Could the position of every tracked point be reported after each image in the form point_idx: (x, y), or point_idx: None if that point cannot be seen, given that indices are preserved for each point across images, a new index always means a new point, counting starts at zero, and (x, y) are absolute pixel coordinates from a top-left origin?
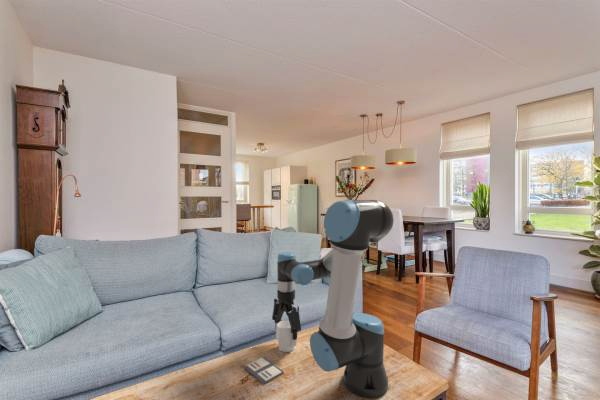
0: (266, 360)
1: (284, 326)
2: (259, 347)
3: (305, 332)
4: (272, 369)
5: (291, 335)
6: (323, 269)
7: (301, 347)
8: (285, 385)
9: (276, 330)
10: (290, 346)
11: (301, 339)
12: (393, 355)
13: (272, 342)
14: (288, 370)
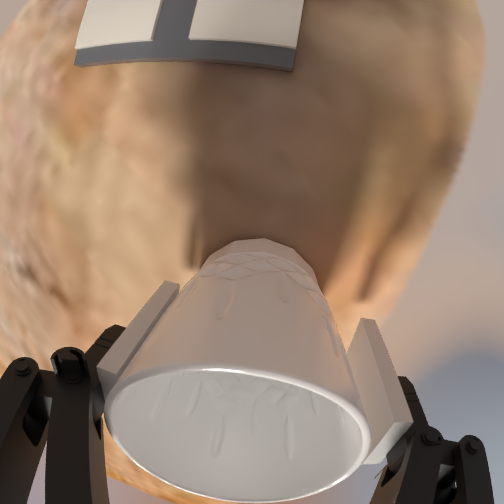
0: (245, 50)
1: (315, 437)
2: (436, 183)
3: None
4: (128, 15)
5: (116, 342)
6: None
7: None
8: (38, 30)
9: (384, 366)
10: (173, 285)
11: None
12: None
13: (394, 294)
14: (78, 108)
